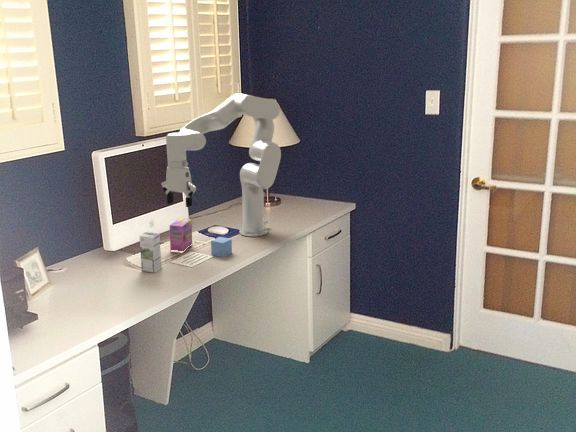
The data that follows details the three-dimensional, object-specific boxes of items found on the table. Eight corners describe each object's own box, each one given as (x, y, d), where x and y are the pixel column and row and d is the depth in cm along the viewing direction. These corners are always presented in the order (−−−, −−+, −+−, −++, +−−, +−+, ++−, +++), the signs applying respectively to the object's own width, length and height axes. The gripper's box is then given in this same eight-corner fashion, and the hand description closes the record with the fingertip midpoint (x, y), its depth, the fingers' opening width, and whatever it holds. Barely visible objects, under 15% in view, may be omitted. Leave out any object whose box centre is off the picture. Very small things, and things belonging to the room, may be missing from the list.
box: (183, 253, 275) (182, 226, 272) (170, 252, 276) (168, 225, 273) (192, 245, 285) (191, 219, 281) (180, 244, 286) (179, 217, 283)
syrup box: (162, 268, 259) (160, 232, 255) (154, 273, 253) (152, 237, 249) (149, 266, 261) (147, 231, 256) (141, 271, 255) (138, 235, 251)
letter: (191, 252, 277) (191, 251, 277) (213, 256, 271) (213, 256, 271) (169, 262, 265) (169, 261, 265) (191, 267, 260) (191, 266, 260)
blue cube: (220, 250, 279) (219, 236, 277) (231, 252, 276) (231, 239, 275) (211, 254, 274) (210, 240, 272) (223, 257, 271) (223, 243, 270)
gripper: (200, 164, 269) (202, 205, 274) (166, 160, 278) (169, 199, 283) (188, 168, 263) (190, 209, 268) (154, 163, 271) (157, 204, 276)
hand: (179, 204), depth 275 cm, fingers open, 9 cm apart
